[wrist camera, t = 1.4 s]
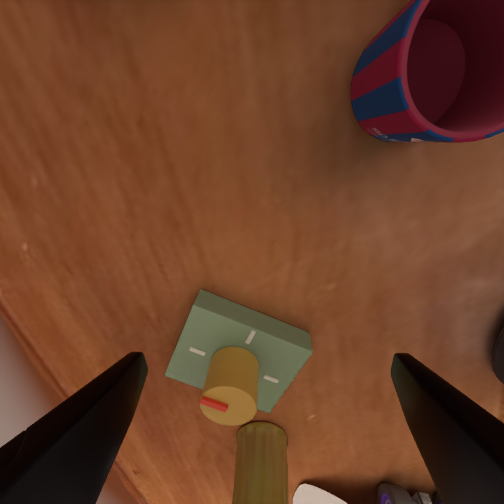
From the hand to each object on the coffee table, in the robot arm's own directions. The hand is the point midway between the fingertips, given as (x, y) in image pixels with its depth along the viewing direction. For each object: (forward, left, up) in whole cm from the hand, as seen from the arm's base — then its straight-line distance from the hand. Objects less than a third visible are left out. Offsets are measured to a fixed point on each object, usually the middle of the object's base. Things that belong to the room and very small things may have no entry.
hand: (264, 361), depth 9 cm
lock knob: (-2, +11, -10) cm, 15 cm away
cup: (-3, -15, -13) cm, 20 cm away
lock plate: (-2, +11, -13) cm, 17 cm away
